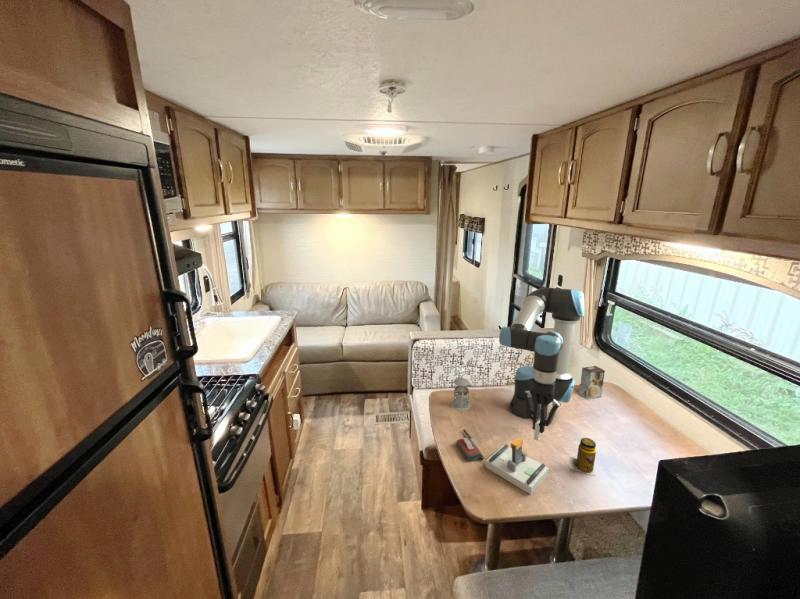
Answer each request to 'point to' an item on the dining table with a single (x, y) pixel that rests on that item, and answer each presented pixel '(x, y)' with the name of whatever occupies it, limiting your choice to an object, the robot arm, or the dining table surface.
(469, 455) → the walkie-talkie
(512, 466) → the panel
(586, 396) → the coffee box
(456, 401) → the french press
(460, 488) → the dining table surface
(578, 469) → the condiment
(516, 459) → the lever
